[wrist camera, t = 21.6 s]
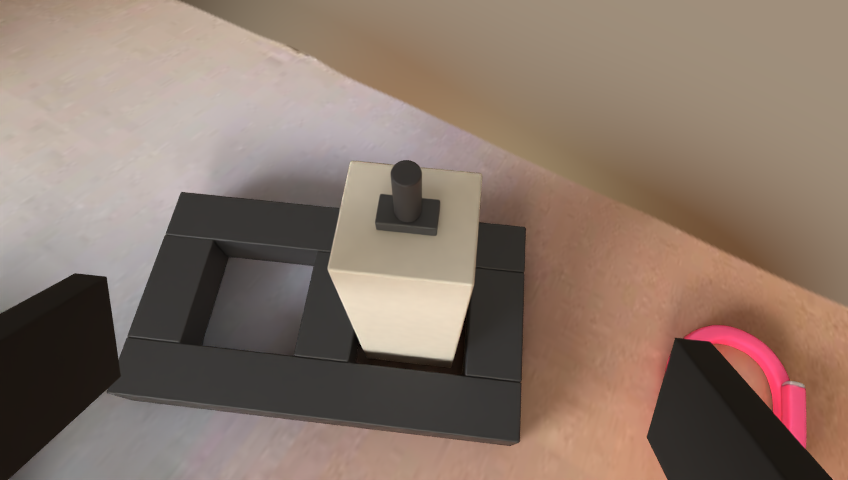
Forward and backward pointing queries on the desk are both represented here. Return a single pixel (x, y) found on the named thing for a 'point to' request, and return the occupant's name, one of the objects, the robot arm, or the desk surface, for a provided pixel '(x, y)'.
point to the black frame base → (318, 332)
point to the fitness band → (784, 392)
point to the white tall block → (407, 258)
